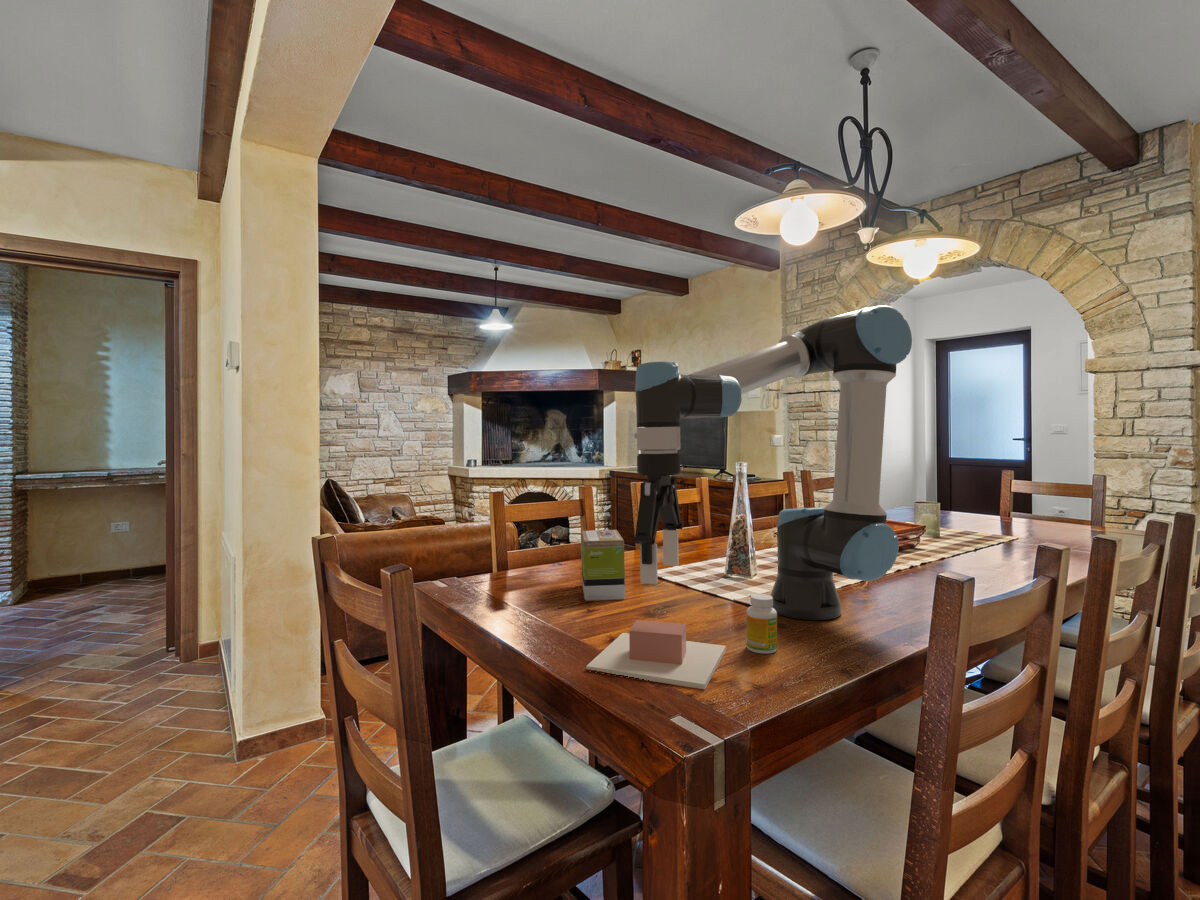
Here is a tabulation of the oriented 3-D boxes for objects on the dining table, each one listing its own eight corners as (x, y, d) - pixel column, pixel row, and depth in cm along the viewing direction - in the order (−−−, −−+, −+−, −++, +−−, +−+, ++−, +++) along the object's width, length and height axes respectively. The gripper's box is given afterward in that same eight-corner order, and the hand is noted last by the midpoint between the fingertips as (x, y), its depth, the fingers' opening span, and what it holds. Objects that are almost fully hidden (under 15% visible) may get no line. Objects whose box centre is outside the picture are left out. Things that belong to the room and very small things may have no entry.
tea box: (580, 585, 156) (580, 529, 156) (618, 584, 157) (618, 528, 156) (583, 601, 141) (583, 539, 141) (625, 600, 142) (625, 538, 141)
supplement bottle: (772, 656, 105) (772, 602, 105) (742, 651, 108) (742, 598, 108) (780, 647, 110) (780, 595, 110) (751, 642, 113) (751, 591, 112)
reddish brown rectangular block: (636, 647, 108) (636, 620, 108) (686, 651, 105) (686, 624, 105) (629, 659, 102) (629, 630, 102) (681, 664, 100) (681, 635, 100)
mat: (725, 650, 108) (725, 645, 108) (704, 689, 92) (705, 684, 92) (622, 636, 116) (622, 632, 116) (586, 670, 99) (586, 666, 99)
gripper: (658, 449, 116) (660, 557, 117) (612, 455, 93) (615, 589, 93) (696, 449, 113) (697, 559, 114) (659, 455, 90) (661, 593, 91)
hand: (660, 573), depth 104 cm, fingers open, 13 cm apart
